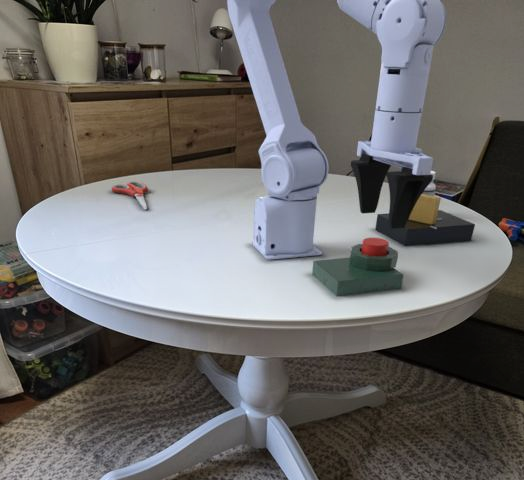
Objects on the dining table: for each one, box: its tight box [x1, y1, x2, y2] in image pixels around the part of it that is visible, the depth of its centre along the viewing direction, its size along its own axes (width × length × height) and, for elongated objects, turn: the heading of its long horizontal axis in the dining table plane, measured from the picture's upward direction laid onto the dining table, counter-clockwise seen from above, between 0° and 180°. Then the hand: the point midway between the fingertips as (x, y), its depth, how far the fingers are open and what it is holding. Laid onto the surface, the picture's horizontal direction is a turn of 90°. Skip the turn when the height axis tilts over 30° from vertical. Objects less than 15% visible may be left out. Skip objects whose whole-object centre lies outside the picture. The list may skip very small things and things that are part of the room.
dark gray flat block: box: [374, 209, 476, 247], centre depth 88 cm, size 14×11×3 cm
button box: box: [311, 243, 405, 297], centre depth 68 cm, size 11×8×4 cm
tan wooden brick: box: [408, 194, 442, 225], centre depth 85 cm, size 6×2×5 cm, turn 49°
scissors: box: [111, 181, 149, 211], centre depth 107 cm, size 8×21×2 cm, turn 35°
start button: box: [361, 237, 390, 256], centre depth 68 cm, size 4×4×2 cm
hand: (381, 219), depth 67 cm, fingers open, 7 cm apart
